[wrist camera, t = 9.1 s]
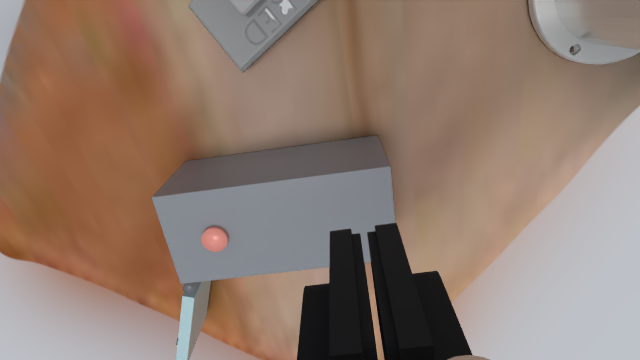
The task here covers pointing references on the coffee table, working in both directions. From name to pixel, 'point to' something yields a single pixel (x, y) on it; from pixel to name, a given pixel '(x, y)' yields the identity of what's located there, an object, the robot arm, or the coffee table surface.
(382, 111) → the coffee table surface
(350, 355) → the robot arm
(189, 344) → the side door
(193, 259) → the housing
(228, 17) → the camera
